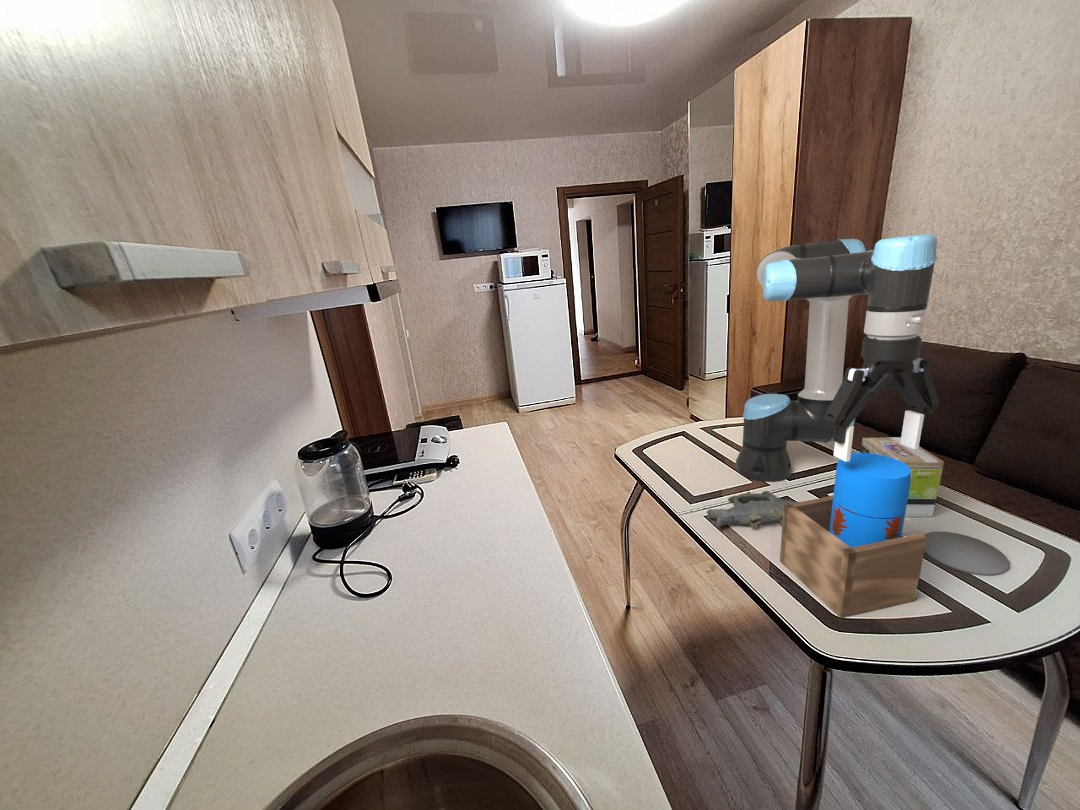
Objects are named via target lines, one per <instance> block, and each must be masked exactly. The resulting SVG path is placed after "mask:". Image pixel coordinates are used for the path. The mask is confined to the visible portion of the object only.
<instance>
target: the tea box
mask: <svg viewBox="0 0 1080 810" xmlns="http://www.w3.org/2000/svg"><path fill="white" fill-rule="evenodd" d="M861 441H862V442H861V447H860V453H870V454H877V455H883V456H887V457H890V458H894V459H896V460H899V461H901V462H903V463H905V464H906V465H907V466H908V467H909V468H910V471H911V484H910V490H909V495H908V501H907V507H906V511H905V518H906V517H908V518H910V517H912V518H932V517H933V516H934V511H935V507H936V502H937V498H938V494H939V489H940V484H941V479H942V474H943V469H944V463H945V462H944V460H942V459H941V458H939V457H937V456H936V455H934V454H932V453H931V452H929V451H928V450H926V449H924V448H923V447H921V446H919V448H918V449H912V448H910V447H907V446H905V445H902V444H900V441H901V436H899V437H897V436H896V437H895V436H893V437H890V436H889V437H888V436H887V437H862V440H861Z"/></svg>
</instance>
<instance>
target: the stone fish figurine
mask: <svg viewBox="0 0 1080 810" xmlns="http://www.w3.org/2000/svg"><path fill="white" fill-rule="evenodd" d="M727 500H728V501H729V502H730V503H732V504H733V503H734V504H733V506H732V507H730V508H719V509H718V508H717V509H714V508H713V509H712V508H711V509H708V510H707V511H706V514H707V515H708V517H709V518H711V519H713V520H716V526H717V527H721V526H722V527H723V526H726V525H729V524H737V525H744V526H751V527H752V528H754V527H757V526H763V525H771V524H777V523H779V525H781V526H782V523H783V509H784V505H788V504H793V503H798V502H799V501H795V500H792V499H782V498H780V497H778V496H777V495H776V494H775V495H774V494H772V492H770V491H768V490H764V491H762V492H761V493H756V492H755V493H753V492H750V491H747V492H745V493H740V494H738V495H731V496H730V497H728V499H727Z"/></svg>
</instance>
